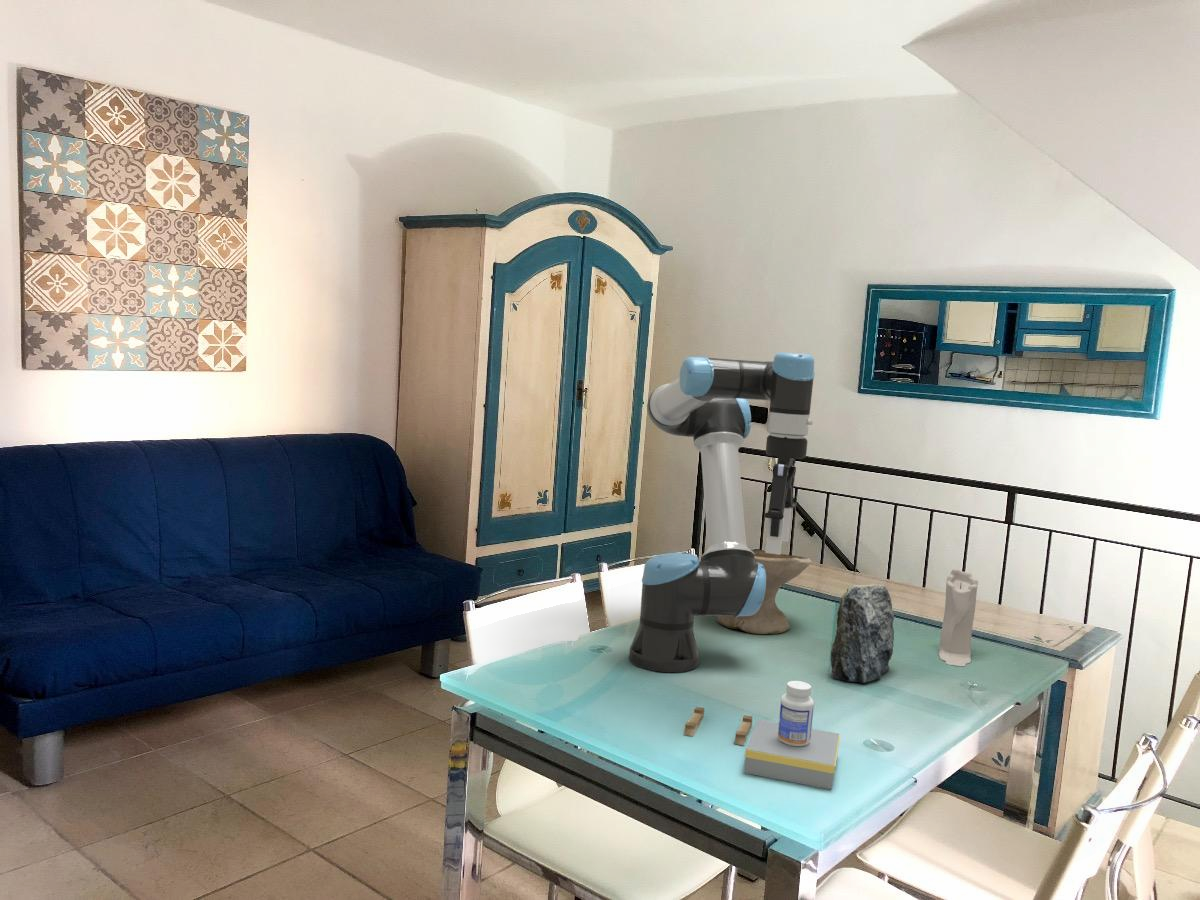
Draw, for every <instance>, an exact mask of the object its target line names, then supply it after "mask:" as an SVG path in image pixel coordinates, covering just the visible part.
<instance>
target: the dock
mask: <svg viewBox="0 0 1200 900" xmlns="http://www.w3.org/2000/svg"><path fill="white" fill-rule="evenodd" d="M778 728H779V722H775V721H768V720H763V719H759V718H758V719H757V721H756V723H755V726H754V728H753V731H752V733H751V736H750V737H749V741H748V743H747V747H746V749H745V753H744V758H745V759H744V770H743V773H744V774H749V775H754V776H759V777H764V778H769V779H775V780H781V781H786V782H791V783H797V784H802V785H805V786H811V787H817V788H822V789H827V790H833V783H834V777H835V771H836V766H837V765H836V764H837V759H838V752H839V746H840V738H841V734H840V733H838V732H832V731H828V730H827V731H826V730H821V729H815V728H811V739H810V743H809V744H807V745H805V746H791V745H787V744H785V743H783V742H781V741H780V740H779V739H778Z"/></svg>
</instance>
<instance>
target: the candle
mask: <svg viewBox="0 0 1200 900" xmlns="http://www.w3.org/2000/svg"><path fill="white" fill-rule="evenodd" d="M978 584H979V580H978V579H977V578H974V577H973V576H972V574H971V573H970V572H966V571H962V570H959V569H955V568H954V569H951V571H950V574H949V575H948V576H947V577H946V583H945V599H944V600H945V602H944V613H943V619H942V625H941V632H940V636H939V637H940V638H939V644H938V645H939V646H938V657H939V659H940V660H941V661H942V662H945V664H946V665H948V666H949V665H950V666H957V667H965V666H966V665H968V664H970V663H971V661H972V657H971V656H972V634H973V626H974V625H973V624H974V619H975V613H976V612H975V611H976V604H977V594H978V593H977V592H978Z"/></svg>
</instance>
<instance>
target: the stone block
mask: <svg viewBox="0 0 1200 900" xmlns="http://www.w3.org/2000/svg"><path fill="white" fill-rule="evenodd" d="M836 616H837V617H836V630H835V636H834V639H833V643H832V646H831V650H830V664H831V665H830V667H831V674H832V676H831V677H830V678H832V679H835V680H839V681H844V682H848V683H849V682H852V683H853V682H855V683H863V684H864V683H869V682H872V681H875V680H877V679H878V680H879V679H881V678H882V675H883V674H884V673H887V671H888V670H889V669H890V666H889V662H890V660H892V655H893V654H894V646H895V645H894V641H895V629H894V620H895V616H894V611H893V604H892V597H891V595H890V592H889V590H888V589H887V587H886V586H885V585H884V584H876V583H872V584H862V585H861V584H859V585H857V584H853V585H850V586H849V587H848V588H846V592H844V593H843V594H842V596H841V599H840V602H839V605H838V610H837V612H836Z"/></svg>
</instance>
